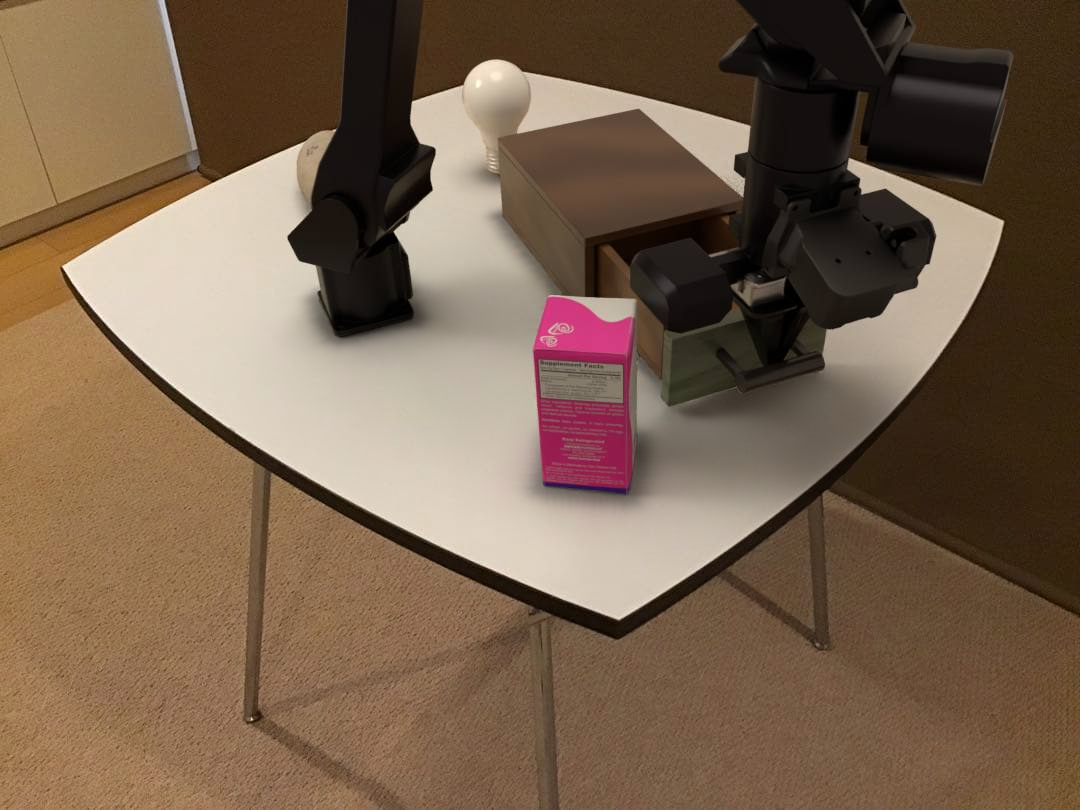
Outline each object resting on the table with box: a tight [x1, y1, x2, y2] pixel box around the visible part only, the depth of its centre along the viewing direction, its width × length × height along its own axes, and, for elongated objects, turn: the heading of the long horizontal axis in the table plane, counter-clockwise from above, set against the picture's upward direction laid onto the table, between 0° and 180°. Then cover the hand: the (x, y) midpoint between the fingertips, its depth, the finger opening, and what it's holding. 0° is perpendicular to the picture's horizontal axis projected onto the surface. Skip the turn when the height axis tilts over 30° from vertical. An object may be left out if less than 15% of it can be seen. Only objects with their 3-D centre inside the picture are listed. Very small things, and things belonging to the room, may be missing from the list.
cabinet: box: [498, 108, 743, 298], centre depth 87 cm, size 19×14×8 cm
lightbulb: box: [461, 59, 532, 176], centre depth 97 cm, size 6×6×11 cm
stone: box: [296, 129, 336, 203], centre depth 97 cm, size 6×6×12 cm
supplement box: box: [532, 294, 638, 495], centre depth 65 cm, size 6×6×12 cm
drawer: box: [594, 213, 828, 408], centre depth 76 cm, size 22×12×6 cm, turn 22°
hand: (769, 365), depth 70 cm, fingers closed, pressing on drawer
